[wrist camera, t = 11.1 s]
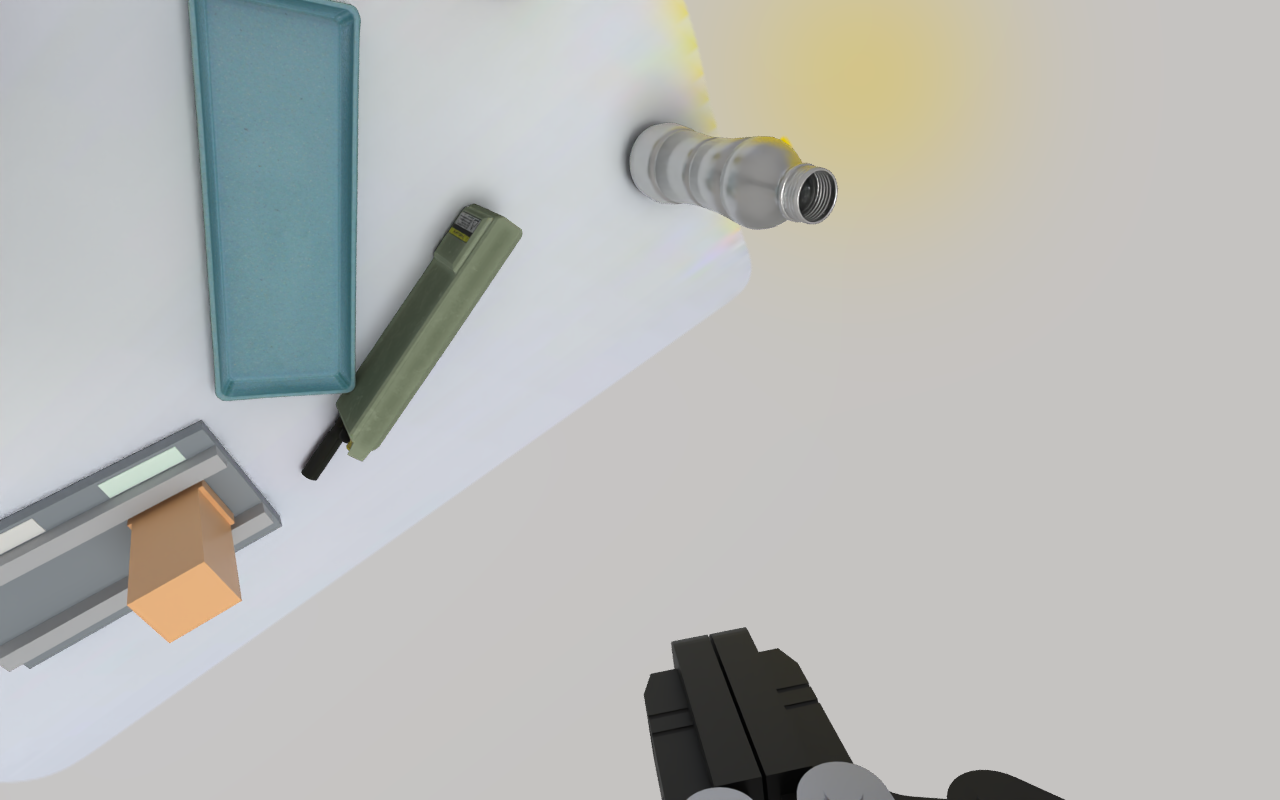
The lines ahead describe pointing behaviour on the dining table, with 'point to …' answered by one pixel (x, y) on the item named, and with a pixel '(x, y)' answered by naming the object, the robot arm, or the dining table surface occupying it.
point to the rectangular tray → (279, 191)
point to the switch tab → (182, 562)
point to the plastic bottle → (731, 176)
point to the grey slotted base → (104, 541)
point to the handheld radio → (419, 333)
